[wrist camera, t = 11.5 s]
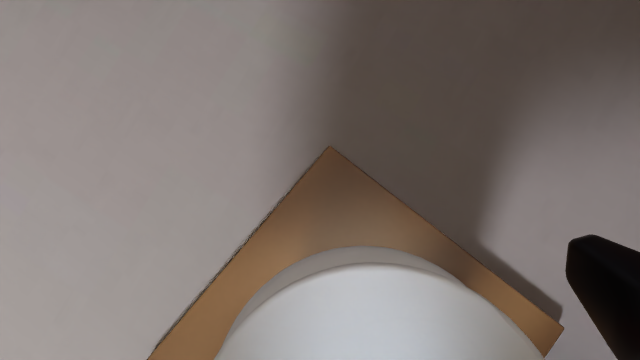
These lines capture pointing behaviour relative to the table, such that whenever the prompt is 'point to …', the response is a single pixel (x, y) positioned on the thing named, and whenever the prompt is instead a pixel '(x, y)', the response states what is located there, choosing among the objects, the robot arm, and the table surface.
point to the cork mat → (330, 233)
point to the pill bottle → (371, 313)
